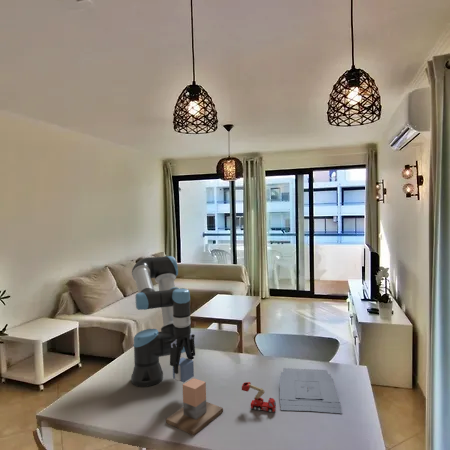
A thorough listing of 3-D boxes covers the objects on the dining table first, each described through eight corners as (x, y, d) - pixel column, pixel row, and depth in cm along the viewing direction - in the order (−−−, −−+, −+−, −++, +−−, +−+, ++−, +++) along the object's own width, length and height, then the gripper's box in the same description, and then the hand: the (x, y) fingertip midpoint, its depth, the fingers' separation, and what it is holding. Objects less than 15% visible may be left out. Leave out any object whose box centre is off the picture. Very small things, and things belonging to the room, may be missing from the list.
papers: (330, 375, 167) (330, 368, 166) (342, 419, 137) (342, 411, 137) (279, 373, 170) (279, 366, 170) (280, 416, 141) (280, 408, 140)
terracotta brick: (183, 402, 137) (182, 384, 136) (193, 394, 142) (193, 378, 142) (195, 407, 133) (195, 389, 133) (206, 399, 138) (205, 382, 138)
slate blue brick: (173, 378, 153) (172, 362, 152) (183, 372, 158) (182, 357, 157) (183, 382, 149) (183, 366, 148) (193, 376, 154) (193, 360, 154)
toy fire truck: (275, 413, 139) (274, 389, 138) (241, 408, 143) (241, 384, 143) (276, 408, 142) (276, 385, 142) (244, 403, 146) (243, 381, 146)
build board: (166, 422, 134) (165, 406, 134) (196, 401, 149) (196, 386, 149) (193, 435, 126) (193, 418, 126) (223, 411, 141) (222, 395, 141)
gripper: (172, 333, 142) (174, 388, 143) (202, 320, 158) (204, 370, 159) (159, 330, 146) (161, 383, 148) (190, 317, 162) (191, 365, 163)
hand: (183, 376), depth 153 cm, fingers closed on slate blue brick, 6 cm apart
